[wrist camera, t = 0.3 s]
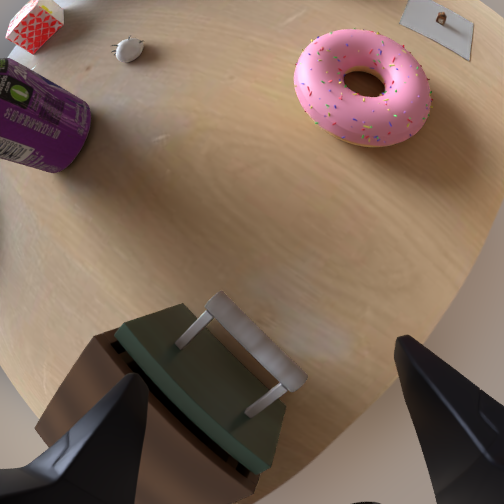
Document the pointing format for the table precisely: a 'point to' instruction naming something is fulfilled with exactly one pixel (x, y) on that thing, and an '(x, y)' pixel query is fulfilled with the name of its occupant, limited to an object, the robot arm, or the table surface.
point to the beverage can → (39, 119)
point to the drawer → (213, 378)
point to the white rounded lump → (128, 49)
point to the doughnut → (352, 104)
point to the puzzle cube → (35, 24)
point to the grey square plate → (439, 25)
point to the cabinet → (146, 435)
